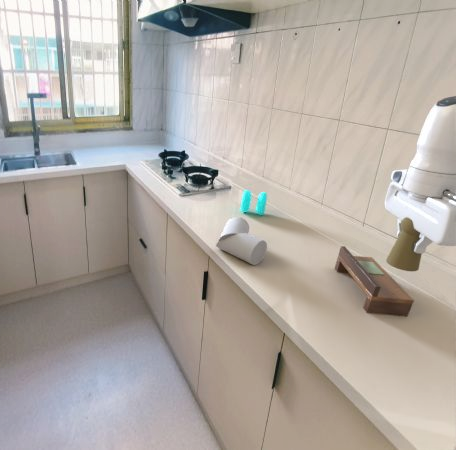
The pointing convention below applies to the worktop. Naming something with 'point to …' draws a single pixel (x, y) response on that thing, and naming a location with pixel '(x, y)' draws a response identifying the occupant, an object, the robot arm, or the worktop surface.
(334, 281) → the worktop surface
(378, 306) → the shelf
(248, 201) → the cyan twin rounded posts
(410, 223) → the olive pawn shape
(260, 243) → the bent grey cylinder
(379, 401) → the worktop surface
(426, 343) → the worktop surface
